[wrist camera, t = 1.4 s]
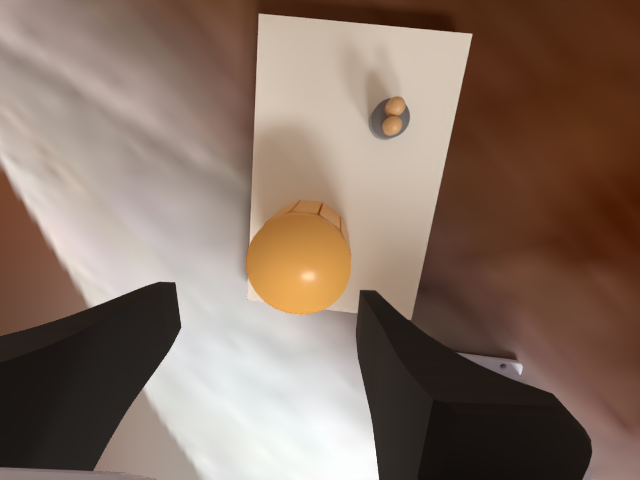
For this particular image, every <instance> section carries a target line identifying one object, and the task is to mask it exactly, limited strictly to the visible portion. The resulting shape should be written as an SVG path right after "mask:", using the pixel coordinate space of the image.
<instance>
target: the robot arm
mask: <svg viewBox="0 0 640 480" xmlns="http://www.w3.org/2000/svg"><path fill="white" fill-rule="evenodd" d="M180 329H181V322H180V314H179V307H178V299H177V292H176V284H175V282H157V283H154V284H151V285H148V286H145V287H142V288H140V289H137V290H135V291H132V292H130V293H127V294H125V295H122V296H120V297H117V298H115V299H112V300H110V301H108V302H105V303H103V304H100V305H97V306H95V307H92V308H89V309H87V310H84V311H81V312H79V313H76V314H74V315H71V316H68V317H65V318H62V319H59V320H56V321H53V322H50V323H47V324H43V325H40V326H37V327H33V328H30V329H26V330H23V331H19V332H15V333H11V334H7V335H3V336H0V480H156V479H152V478H148V477H143V476H138V475H133V474H129V473H124V472H102V471H93V470H94V468H95V466H96V464H97V462H98V460H99V459H100V457H101V455H102V453H103V451H104V449H105V448H106V446H107V444H108V442H109V440H110V438H111V437H112V435H113V434H114V432H115V430H116V428H117V427H118V425H119V423H120V421H121V420H122V418H123V416H124V415H125V413H126V411H127V410H128V409H129V407H130V406H131V404H132V402H133V401H134V399H135V398H136V397H137V395H138V394H139V393H140V391H141V390H142V388H143V387H144V386H145V384H146V383H147V381H148V380H149V379H150V377H151V376H152V375H153V373H154V372H155V370H156V369H157V368H158V366H159V365H160V363H161V362H162V360H163V359H164V358H165V356H166V355H167V353H168V352H169V350H170V348H171V347H172V345H173V343H174V341H175V339H176V337H177V335H178V333H179V331H180ZM356 342H357V352H358V359H359V364H360V369H361V373H362V378H363V382H364V386H365V391H366V395H367V400H368V404H369V408H370V413H371V419H372V424H373V432H374V440H375V448H376V456H377V465H378V473H379V480H593V477H592V474H591V471H590V469H589V463H590V459H591V455H592V446H591V439H590V438H589V436H588V434H587V432H586V431H585V429H584V428H583V427H582V426H581V424H580V423H579V422H578V421H577V420H576V419H575V418H574V417H573V416H572V414H571V413H570V412H569V411H568V410H567V409H566V408H565V407H564V406H563V404H562V403H561V402H560V401H559V400H558V399H557V398H556V397H555V396H554V395H553V394H552V393H549V392H546V391H543V390H541V389H538V388H535V387H532V386H530V385H528V384H527V383H526V382H525V381H524V379H523V378H522V377H521V376H520V375H521V372H522V369H523V366H522V364H521V363H520V362H519V361H517V360H512V359H504V358H496V357H488V356H481V355H473V354H465V353H457V352H454V351H452V350H451V349H449V348H447V347H445V346H444V345H442V344H441V343H439V342H438V341H436V340H435V339H433V338H431V337H430V336H428V335H427V334H426V333H424V332H423V331H421V330H420V329H419V328H418V327H416V326H415V325H414V324H412V323H411V322H410V321H409V320H408V319H406V318H405V317H404V316H403V315H402V314H400V313H399V312H398V311H397V310H396V309H395V308H394V307H393V306H392V305H391V304H390V303H389V302H387V301H386V300H385V299H384V298H383V297H382V296H381V295H380V294H379V293H378V292H377V291H376V290H360V294H359V305H358V316H357V327H356ZM501 364H504V365H502V366H500V365H501Z"/></svg>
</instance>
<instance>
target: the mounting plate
mask: <svg viewBox="0 0 640 480" xmlns="http://www.w3.org/2000/svg"><path fill="white" fill-rule="evenodd" d="M471 38H472V34H468V33H457V32H447V31H436V30H426V29H415V28H405V27H394V26H384V25H373V24H363V23H352V22H342V21H331V20H321V19H310V18H300V17H289V16H279V15H268V14H259V23H258V48H257V72H256V97H255V121H254V146H253V170H252V195H251V219H250V243H251V241H252V239H253V237H254V236H255V235H256V233H257V232H258V231H259V230H260V229H261V228H262V227H263V225H264V224H265V222H267V221H268V220H269V219H270V218H271V217H272V216H273V215H274V214H276V213H277V212H278V211H279V210H280V209H281V208H283V207H285V206H288V205H290V204H292V203H294V202H297V201H301V200H306V201H315V202H321V206H322V205H323V203H324V204H326V205H327V206H328V207H330V208H331V209H332V210H334V211H335V212H336V213H338V214H339V215H340V217H341V218H342V220H343V222H344V225H345V227H346V229H347V232H348V234H349V241H350V248H351V274H350V279H349V282H348V285H347V287H346V289H345V291H344V292H343V294H342V295H341V296H340V297H339V299H338V300H337V301H336V302H334V303H333V304H332V305H331V306H329V307H327V308H326V309H325V310H333V311H341V312H349V313H357V314H358V305H359V294H360V290H376V291H377V292H378V293H379V294H380V295H381V296H382V297H383V298H384V299H385V300H386V301H387V302H389V303H390V304H391V305H392V306H393V307H394V308H395V309H396V310H397V311H398V312H399V313H400V314H402V315H403V316H404V317H405V318H406V319H408V320H411V319H412V314H413V309H414V305H415V300H416V295H417V291H418V286H419V281H420V277H421V272H422V267H423V263H424V258H425V253H426V249H427V244H428V239H429V235H430V230H431V225H432V221H433V216H434V211H435V207H436V202H437V197H438V193H439V188H440V183H441V179H442V174H443V169H444V165H445V160H446V155H447V151H448V146H449V141H450V137H451V132H452V127H453V123H454V118H455V113H456V109H457V104H458V99H459V94H460V90H461V85H462V80H463V76H464V71H465V66H466V62H467V57H468V52H469V48H470V43H471ZM249 245H250V244H249ZM247 300H253V301H261V302H265V301H264V300H263V299H261V298H260V297H259V295H258V294H257V293H256V292H255V290H254V289H253V287H252V285H251V283H250V281H249V278H248V293H247Z"/></svg>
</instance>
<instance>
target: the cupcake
mask: <svg viewBox="0 0 640 480" xmlns="http://www.w3.org/2000/svg"><path fill="white" fill-rule="evenodd" d="M246 270H247V275H248V278H249V281H250V283H251V285H252V287H253V289H254V290H255V292H256V293H257V294H258V295H259V297H260V298H261V299H263V300H264V301H265V302H266V303H267V304H269V305H270V306H272V307H274V308H275V309H278V310H280V311H283V312H286V313H290V314H300V315H301V314H311V313H315V312H319V311H321V310H323V309H326V308H327V307H329V306H331V305H332V304H333V303H334V302H336V301H337V300H338V299H339V297H340V296H341V295H342V294H343V292H344V291H345V289H346V287H347V285H348V282H349V279H350V274H351V248H350V241H349V234H348V232H347V229H346V227H345V225H344V222H343V220H342V218H341V217H340V215H339V214H338V213H336V212H335V211H334V210H332V209H331V208H330V207H328V206H327V205H326V204H324V203H323V205H322V206H321V202H315V201H306V200H301V201H297V202H294V203H292V204H290V205H288V206H285V207H283V208H281V209H280V210H279V211H278V212H277V213H276V214H274V215H273V216H272V217H271V218H270V219H269V220H268V221H267V222H265V224H264V225H263V227H262V228H261V229H260V230H259V231H258V232H257V233H256V235H255V236H254V237H253V239H252V241H251V243H250V245H249V248H248V251H247V256H246Z"/></svg>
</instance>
